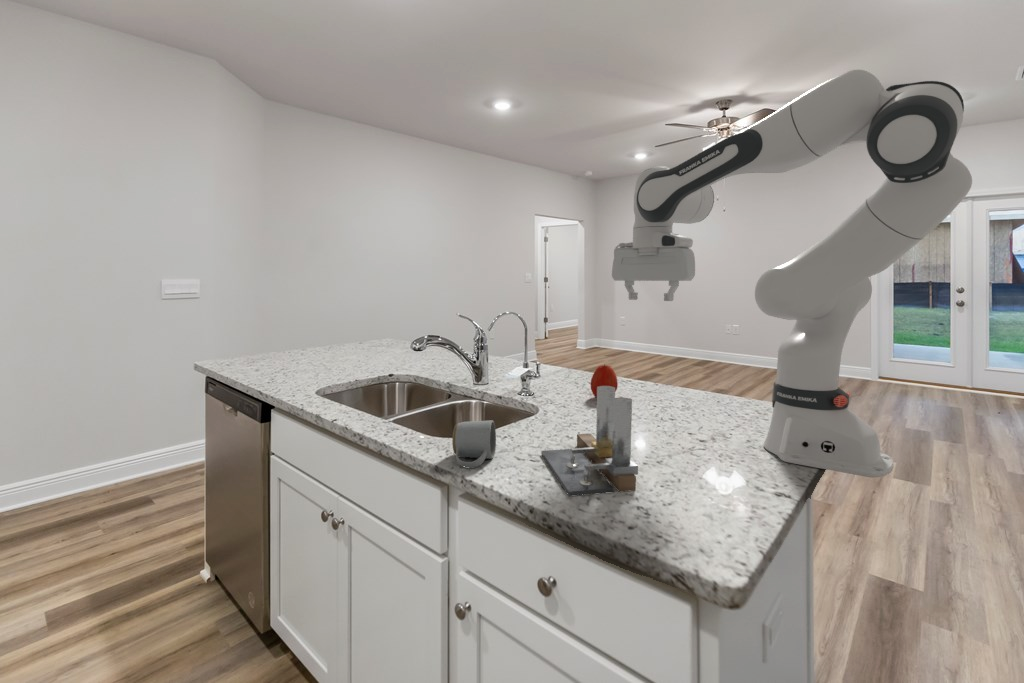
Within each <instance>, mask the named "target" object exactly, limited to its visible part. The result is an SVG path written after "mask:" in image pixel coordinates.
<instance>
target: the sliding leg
mask: <svg viewBox="0 0 1024 683" xmlns="http://www.w3.org/2000/svg"><path fill="white" fill-rule="evenodd" d="M614 398H616V392H615V387H612V386H599V387H597V398H596V426H595V427H596V428H595V429H596V431H595V434H596V436H595V439H596V442H591V447H589V448H579V447H577V448H570V449H571V464H575V453H583V454H584V453H589V452H594V453H595V454H596V455H597V456H598V457H599V458H600V457H612V440H613V399H614Z"/></svg>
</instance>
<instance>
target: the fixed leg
mask: <svg viewBox="0 0 1024 683" xmlns="http://www.w3.org/2000/svg"><path fill="white" fill-rule="evenodd" d="M632 411H633V399H631V398H629V397H618V396H617V397H615V398H614V399H613V440H612V458H605V463H601V464H594V463H592V464H588V465H584V481H588V470H596V469H597V470H599V469H607V470H608V471H609V472H610V473H611V474H612V475H613V476H626V475H635V476H636V475H639V465H638V464H636V462H634V461H633V460H632V459H631V456H632V454H631V453H632V450H631V449H632V423H633V422H632V420H633V419H632V414H633V413H632Z"/></svg>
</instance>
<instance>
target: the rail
mask: <svg viewBox="0 0 1024 683" xmlns="http://www.w3.org/2000/svg"><path fill="white" fill-rule="evenodd" d="M591 442H596V437H594V436H593V435H592V433H578V434H576V445H577V448H589V447H591ZM583 454H584V455H585V456H586V457H587V459H588V460H589V461H590V462H591V463H592V464H601V463H605V458H612V457H600V458H599V457H598V456H597V455H596V454H595V453H594V452H589V453H583ZM598 471H599V472H600V473H601V474H602V475H603V476H604V477H605V479H606V480H607V481H608V482H609V483H610V484H611V485H612V486H613V487H614V486H615V487H616V488H617V489H618V490H619V491H623V492H630V491H629V490H634V491H636V488H637V486H636V484H637V476H636V475H626V476H613V475H612V474H611V473H610V472H609V471H608V470H607V469H598ZM615 487H614V488H615ZM616 488H615V489H616ZM617 489H616V490H617ZM618 490H617V491H618ZM619 491H618V492H619Z"/></svg>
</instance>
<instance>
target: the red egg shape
mask: <svg viewBox="0 0 1024 683" xmlns="http://www.w3.org/2000/svg"><path fill="white" fill-rule="evenodd" d="M599 386H612V387H615V393H616V391H617V390H618V387H619V384H618V377H617V374H616V373H615V371H614V369H613V368H612V366H609V365H606V363H604V364H603V365H599V366H598V367H597V368H596V369H595V371H594V372H593V374H592V376H591V379H590V389H591V394H592V395H593V396H594V398H595V399H597V387H599Z"/></svg>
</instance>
